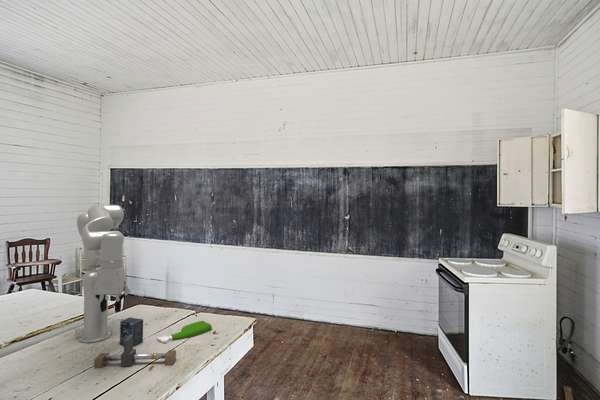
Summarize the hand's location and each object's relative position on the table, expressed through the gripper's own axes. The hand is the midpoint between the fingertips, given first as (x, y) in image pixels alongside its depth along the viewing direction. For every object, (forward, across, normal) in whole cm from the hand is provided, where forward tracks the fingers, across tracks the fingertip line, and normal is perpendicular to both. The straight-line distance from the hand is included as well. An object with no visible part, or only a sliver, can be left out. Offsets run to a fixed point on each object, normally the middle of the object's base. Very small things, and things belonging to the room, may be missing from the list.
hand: (110, 310), depth 127 cm
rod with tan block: (+21, +10, 0) cm, 24 cm away
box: (+22, +1, +19) cm, 29 cm away
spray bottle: (+22, +23, +27) cm, 42 cm away
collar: (+21, +7, 0) cm, 22 cm away
